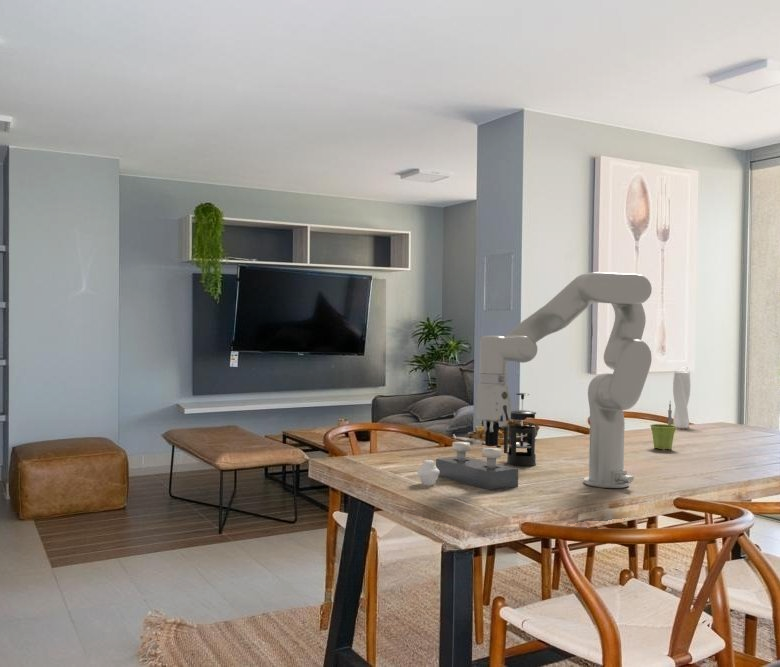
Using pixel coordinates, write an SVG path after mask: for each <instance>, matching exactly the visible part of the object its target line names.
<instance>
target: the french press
mask: <svg viewBox="0 0 780 667" xmlns="http://www.w3.org/2000/svg"><path fill="white" fill-rule="evenodd" d="M515 395H516V396H520V400H521V410H517V409H516V410H511V418H510V419H513V420H522V422H520V424H521V426H505V427H504V444H503V453H504V454H507V457H506V458H507V461H506V465H508V466H510V467H519V468H532V467H535V466H537V463H536V458H537V457H536V456H537V455H536V454H535V450H536V448H535V447H536V444H535V443H536V440H535V439H536V437H535V432H536V427H535V426H534V427H533V425H532V426H529V425H526V426H523V421H526V420H527V419H532V420H533V419H535V418H536V415H537V412H536V411H530V410H524V399H525V396H529V395H530V394H529V393H525V392H517V393H516V394H515ZM508 431H509V444H508ZM516 433H521V441H520V442H516ZM522 433H527V441H526V442H524V441H522ZM517 449H526V451H517Z"/></svg>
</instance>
